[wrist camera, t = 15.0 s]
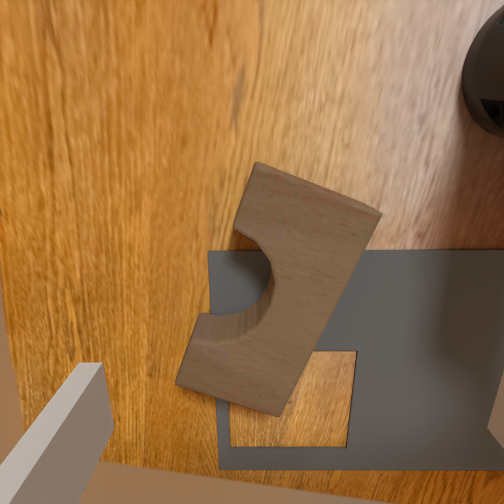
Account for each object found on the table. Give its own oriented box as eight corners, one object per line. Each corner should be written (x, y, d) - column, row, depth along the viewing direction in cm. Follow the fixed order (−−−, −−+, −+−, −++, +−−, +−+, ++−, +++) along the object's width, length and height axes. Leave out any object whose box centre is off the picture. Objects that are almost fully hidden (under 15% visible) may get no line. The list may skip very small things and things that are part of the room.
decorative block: (173, 385, 44) (255, 164, 35) (185, 351, 51) (255, 160, 42) (279, 419, 45) (384, 214, 37) (276, 382, 52) (363, 202, 44)
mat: (574, 249, 46) (577, 250, 45) (502, 468, 60) (504, 470, 59) (208, 250, 46) (207, 251, 46) (219, 467, 60) (219, 470, 60)
